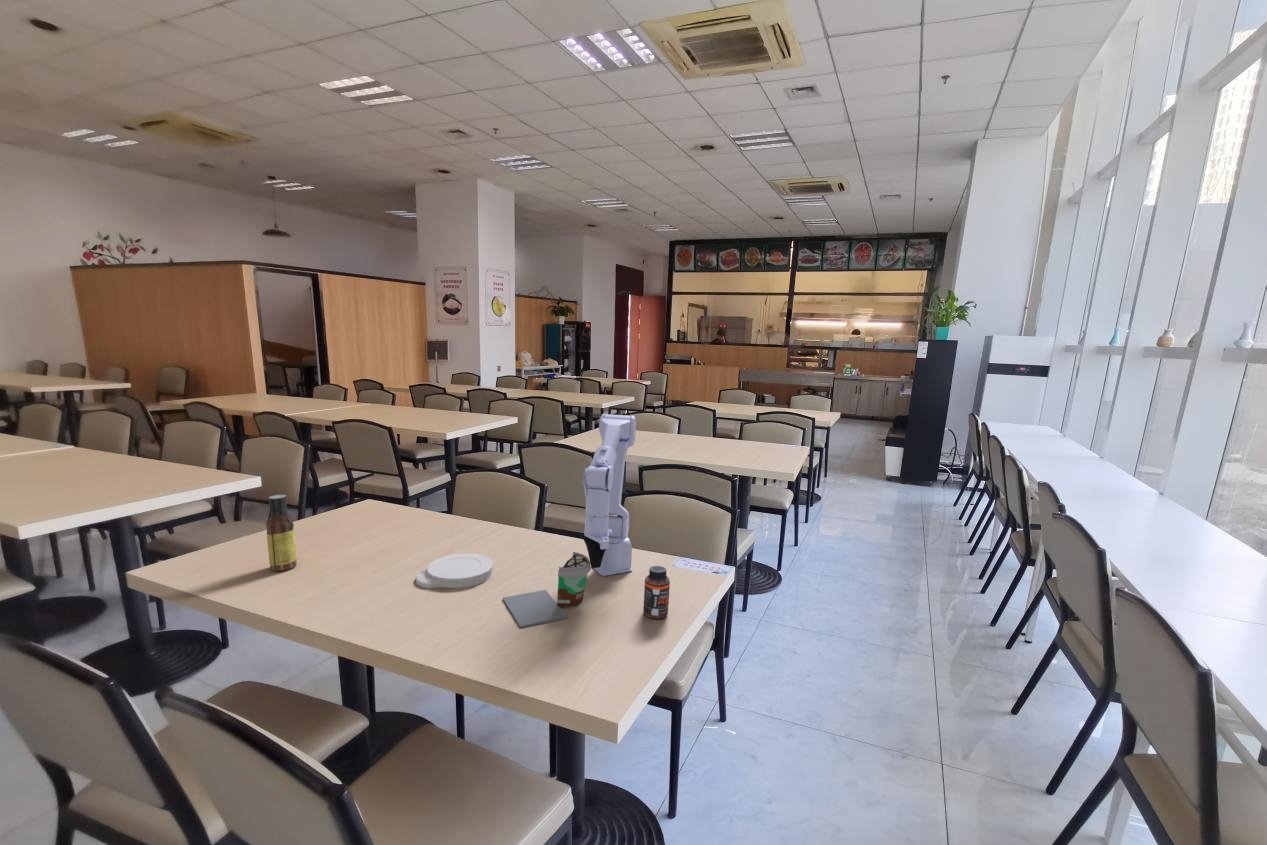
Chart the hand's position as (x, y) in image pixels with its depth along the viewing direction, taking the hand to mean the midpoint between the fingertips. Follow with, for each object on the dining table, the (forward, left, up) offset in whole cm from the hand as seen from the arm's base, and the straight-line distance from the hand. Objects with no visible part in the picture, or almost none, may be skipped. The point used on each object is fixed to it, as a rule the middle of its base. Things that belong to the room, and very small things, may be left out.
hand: (595, 566), depth 137 cm
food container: (+5, 0, -8) cm, 10 cm away
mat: (+16, 0, -8) cm, 18 cm away
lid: (+29, -26, -8) cm, 40 cm away
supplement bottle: (-10, +14, -8) cm, 19 cm away
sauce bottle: (+70, -49, -8) cm, 86 cm away
